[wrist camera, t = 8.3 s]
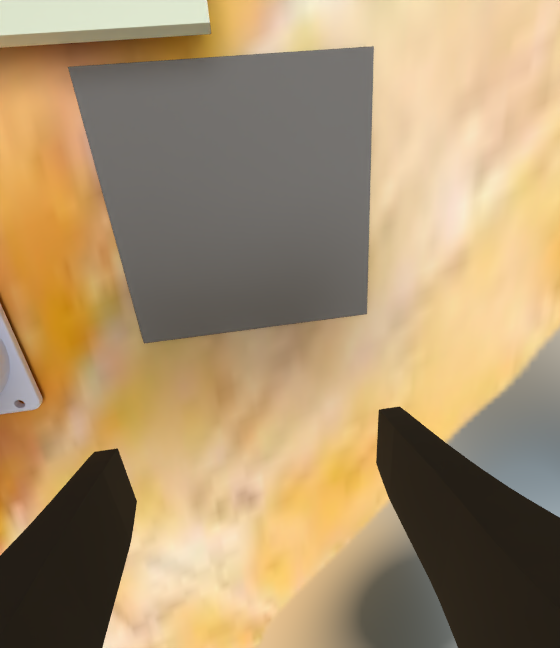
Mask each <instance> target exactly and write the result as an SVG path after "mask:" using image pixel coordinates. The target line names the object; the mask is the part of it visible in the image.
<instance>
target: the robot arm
mask: <svg viewBox="0 0 560 648" xmlns="http://www.w3.org/2000/svg"><path fill="white" fill-rule="evenodd" d="M18 400H21V401H23V402H24V403H25V404H24V403H20V402H19V401H18ZM42 401H43V399H42V396H41V393H40V391H39V389H38V387H37V384H36V382H35V380H34V378H33V375H32V373H31V371H30V369H29V366H28V364H27V362H26V360H25V357H24V355H23V353H22V351H21V348H20V346H19V344H18V342H17V339H16V337H15V335H14V333H13V331H12V328H11V326H10V324H9V322H8V319H7V317H6V315H5V313H4V310H3V308H2V306H1V304H0V414H7V413H14V412H21V411H28V410H34V409H37V408H38V407H39V406H40V405H41V403H42ZM376 463H377V466H378V469H379V472H380V475H381V478H382V481H383V483H384V486H385V489H386V491H387V494H388V497H389V499H390V501H391V503H392V505H393V507H394V509H395V511H396V513H397V515H398V517H399V519H400V521H401V523H402V525H403V527H404V529H405V531H406V533H407V535H408V537H409V539H410V541H411V543H412V545H413V547H414V549H415V551H416V553H417V555H418V557H419V559H420V561H421V563H422V565H423V567H424V569H425V571H426V573H427V575H428V577H429V579H430V581H431V583H432V586H433V588H434V590H435V592H436V594H437V596H438V599H439V601H440V603H441V606H442V608H443V611H444V613H445V616H446V618H447V621H448V623H449V626H450V628H451V631H452V633H453V636H454V638H455V641H456V643H457V646H458V648H560V518H559V517H558V516H556V515H554V514H552V513H551V512H549V511H547V510H546V509H544V508H542V507H540V506H539V505H537V504H535V503H534V502H532V501H530V500H529V499H527V498H525V497H524V496H522V495H520V494H519V493H517V492H516V491H514V490H512V489H511V488H509V487H508V486H506V485H505V484H503V483H502V482H500V481H499V480H497V479H496V478H494V477H493V476H491V475H490V474H488V473H487V472H485V471H484V470H482V469H481V468H480V467H478V466H477V465H475V464H474V463H472V462H471V461H470V460H468V459H467V458H465V457H464V456H463V455H461V454H460V453H459V452H457V451H456V450H455V449H453V448H452V447H451V446H449V445H448V444H447V443H445V442H444V441H443V440H441V439H440V438H439V437H438V436H436V435H435V434H434V433H433V432H431V431H430V430H429V429H427V428H426V427H425V426H424V425H422V424H421V423H420V422H419V421H417V420H416V419H415V418H414V417H412V416H411V415H410V414H409V413H407V412H406V411H405V410H403V409H402V408H401V407H394V408H387V409H381V410H379V418H378V439H377V461H376ZM136 504H137V501H136V498H135V495H134V492H133V490H132V487H131V484H130V481H129V479H128V476H127V473H126V470H125V468H124V465H123V462H122V459H121V457H120V454H119V451H118V449H111V450H105V451H98V452H94V453H93V454H92V455H91V456H90V457H89V458H88V459H87V461H86V462H85V463H84V464H83V465H82V466H81V467H80V469H79V470H78V471H77V472H76V473H75V474H74V476H73V477H72V478H71V479H70V480H69V481H68V482H67V484H66V485H65V486H64V487H63V488H62V489H61V490H60V492H59V493H58V494H57V495H56V496H55V497H54V498H53V500H52V501H51V502H50V503H49V504H48V505H47V506H46V507H45V508H44V510H43V511H42V512H41V513H40V514H39V515H38V516H37V517H36V519H35V520H34V521H33V522H32V523H31V524H30V525H29V526H28V527H27V528H26V529H25V530H24V532H23V533H22V534H21V535H20V536H19V537H18V538H17V539H16V540H15V541H14V542H13V543H12V544H11V545H10V546H9V547H8V548H7V549H6V550H5V551H4V552H3V553H2V555H1V556H0V648H102V647H103V643H104V639H105V635H106V632H107V628H108V624H109V621H110V617H111V613H112V610H113V606H114V602H115V599H116V595H117V591H118V588H119V584H120V581H121V577H122V573H123V569H124V566H125V562H126V558H127V554H128V551H129V547H130V543H131V537H132V531H133V525H134V518H135V511H136Z"/></svg>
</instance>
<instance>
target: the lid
mask: <svg viewBox="0 0 560 648" xmlns="http://www.w3.org/2000/svg"><path fill="white" fill-rule="evenodd" d="M203 34H211V28H210V20H209V13H208V5H207V0H0V48H3V47H18V46H33V45H49V44H64V43H80V42H95V41H111V40H126V39H142V38H157V37H172V36H188V35H203Z"/></svg>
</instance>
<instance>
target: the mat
mask: <svg viewBox="0 0 560 648" xmlns="http://www.w3.org/2000/svg"><path fill="white" fill-rule="evenodd" d="M373 53H374V46H373V47H358V48H343V49H328V50H313V51H298V52H283V53H268V54H254V55H239V56H224V57H209V58H194V59H179V60H164V61H149V62H134V63H119V64H104V65H89V66H74V67H68V69H69V72H70V76H71V80H72V83H73V87H74V91H75V94H76V98H77V102H78V105H79V109H80V113H81V116H82V120H83V123H84V127H85V131H86V134H87V138H88V142H89V145H90V149H91V153H92V156H93V160H94V163H95V167H96V171H97V174H98V178H99V182H100V185H101V189H102V193H103V196H104V200H105V204H106V207H107V211H108V214H109V218H110V222H111V225H112V229H113V233H114V236H115V240H116V244H117V247H118V251H119V254H120V258H121V262H122V265H123V269H124V273H125V276H126V280H127V284H128V287H129V291H130V294H131V298H132V302H133V305H134V309H135V313H136V316H137V320H138V324H139V327H140V331H141V335H142V338H143V342H144V343H150V342H158V341H166V340H173V339H181V338H188V337H196V336H204V335H211V334H219V333H226V332H234V331H241V330H249V329H257V328H264V327H272V326H279V325H287V324H295V323H302V322H310V321H317V320H325V319H333V318H340V317H348V316H355V315H363V314H367V288H368V249H369V210H370V170H371V131H372V92H373Z"/></svg>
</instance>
